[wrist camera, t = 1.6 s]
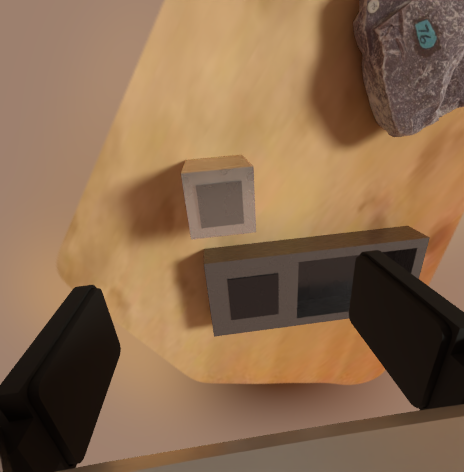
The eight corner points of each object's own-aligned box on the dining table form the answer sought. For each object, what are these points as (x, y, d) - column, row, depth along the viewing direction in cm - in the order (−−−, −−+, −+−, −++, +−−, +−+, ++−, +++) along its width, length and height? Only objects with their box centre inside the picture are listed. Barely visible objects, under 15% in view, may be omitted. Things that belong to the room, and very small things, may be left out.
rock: (432, -67, 19) (496, -118, 15) (457, 91, 23) (511, 87, 19) (328, 3, 20) (360, -26, 16) (371, 141, 25) (405, 147, 20)
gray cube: (185, 159, 23) (180, 174, 18) (241, 154, 24) (253, 166, 18) (193, 212, 25) (191, 240, 20) (244, 207, 26) (256, 233, 20)
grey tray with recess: (203, 249, 27) (203, 264, 24) (407, 225, 28) (430, 238, 26) (213, 316, 31) (214, 337, 28) (392, 293, 32) (410, 310, 29)
